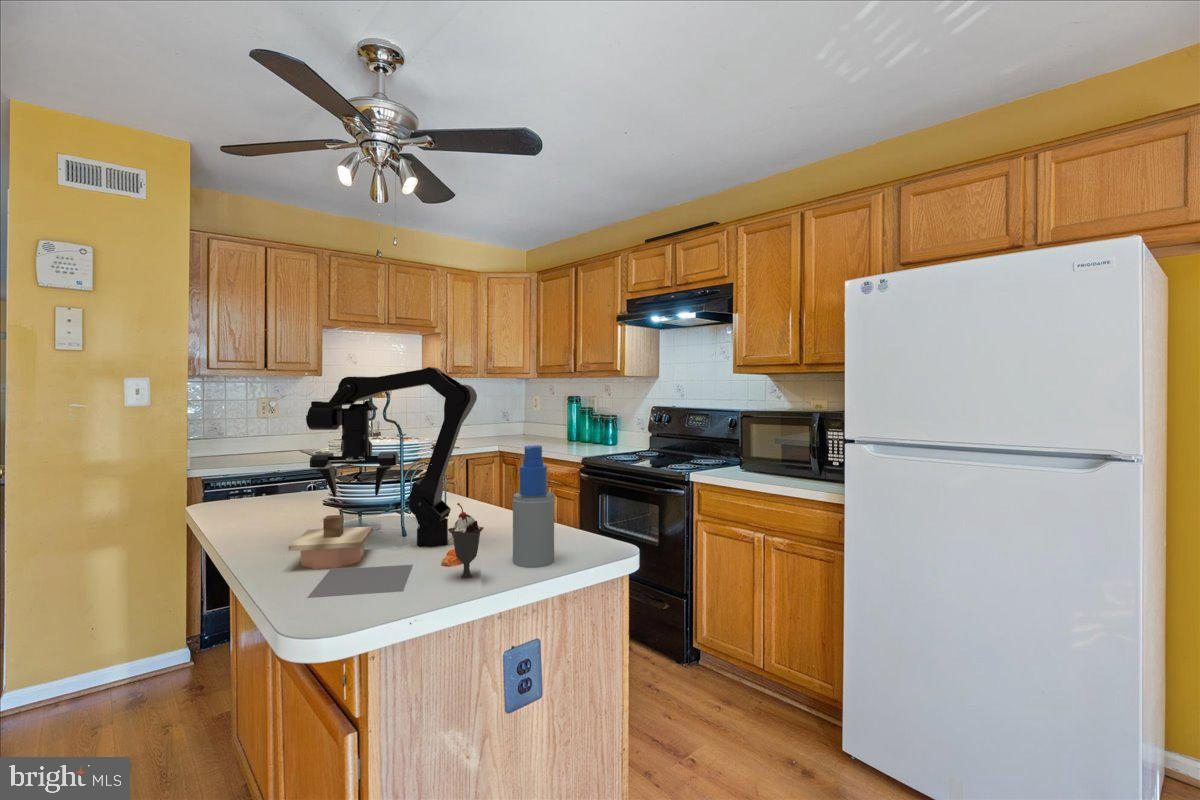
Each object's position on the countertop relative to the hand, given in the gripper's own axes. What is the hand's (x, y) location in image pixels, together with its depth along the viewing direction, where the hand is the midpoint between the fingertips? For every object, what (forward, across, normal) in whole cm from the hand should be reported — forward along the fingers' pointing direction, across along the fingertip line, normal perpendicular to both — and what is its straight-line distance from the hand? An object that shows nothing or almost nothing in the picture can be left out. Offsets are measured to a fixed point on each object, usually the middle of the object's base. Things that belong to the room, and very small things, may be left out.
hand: (356, 496), depth 136 cm
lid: (+7, +2, +13) cm, 15 cm away
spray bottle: (+12, -40, +20) cm, 46 cm away
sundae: (+12, -26, +30) cm, 42 cm away
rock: (+13, -23, +19) cm, 33 cm away
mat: (+12, -7, +28) cm, 31 cm away
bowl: (+12, +2, +13) cm, 18 cm away
